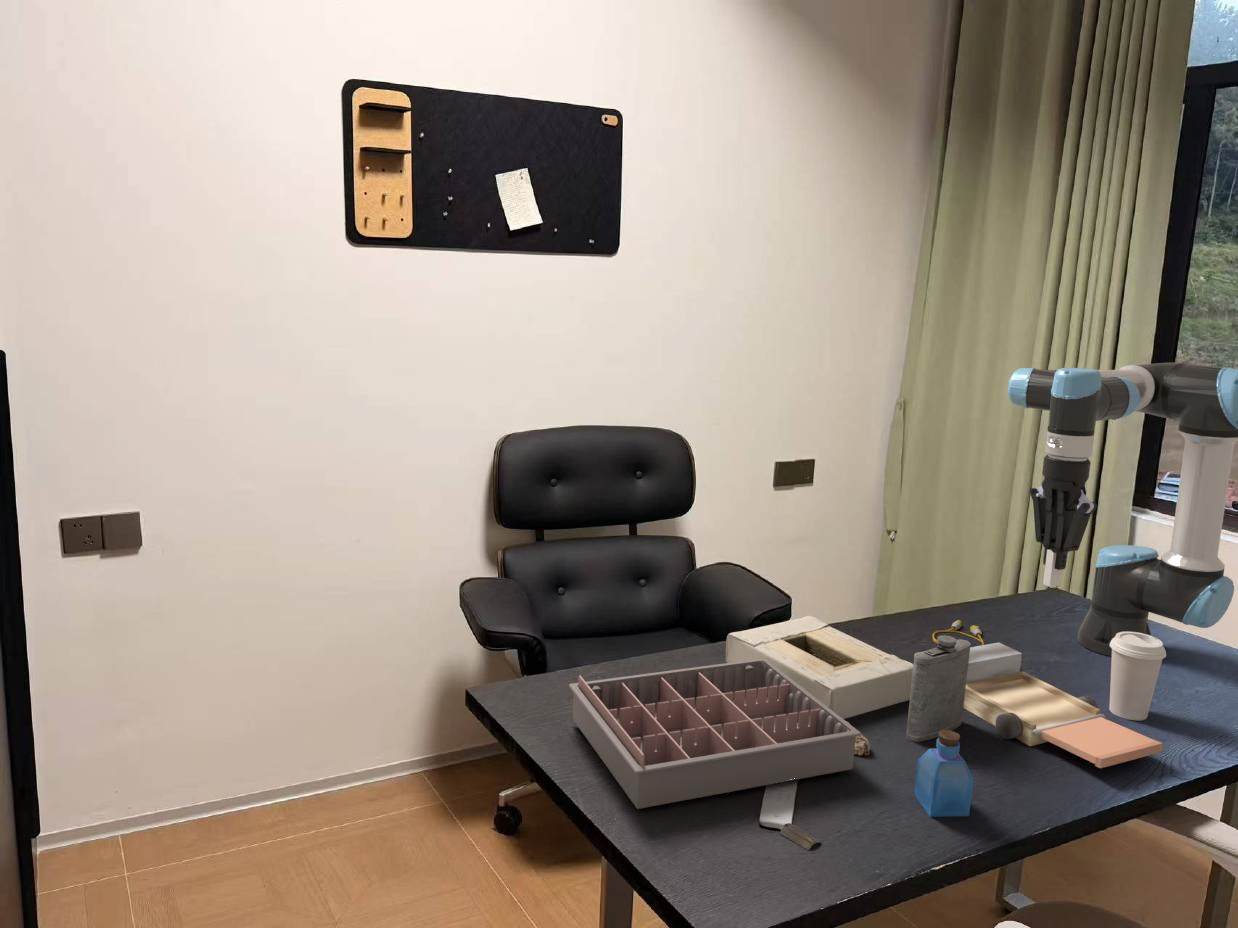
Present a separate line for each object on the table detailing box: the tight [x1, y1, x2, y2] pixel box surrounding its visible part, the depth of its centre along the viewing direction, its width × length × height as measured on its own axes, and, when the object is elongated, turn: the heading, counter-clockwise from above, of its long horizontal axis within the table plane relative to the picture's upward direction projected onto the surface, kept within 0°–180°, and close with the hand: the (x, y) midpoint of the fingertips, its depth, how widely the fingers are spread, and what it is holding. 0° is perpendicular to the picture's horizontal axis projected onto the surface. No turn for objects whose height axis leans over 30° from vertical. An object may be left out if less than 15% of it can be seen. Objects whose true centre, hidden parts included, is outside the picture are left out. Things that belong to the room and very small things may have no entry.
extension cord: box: [932, 619, 986, 646], centre depth 221 cm, size 12×16×2 cm
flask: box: [905, 635, 972, 743], centre depth 175 cm, size 4×14×18 cm, turn 126°
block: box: [780, 822, 822, 852], centre depth 143 cm, size 4×6×2 cm, turn 41°
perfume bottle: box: [914, 730, 974, 818], centre depth 151 cm, size 6×6×12 cm
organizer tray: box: [568, 658, 863, 810], centre depth 166 cm, size 32×40×10 cm
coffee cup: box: [1109, 632, 1167, 722], centre depth 185 cm, size 10×10×15 cm
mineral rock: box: [845, 720, 872, 756], centre depth 171 cm, size 11×4×8 cm
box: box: [725, 615, 914, 720], centre depth 197 cm, size 23×8×32 cm
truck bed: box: [963, 642, 1101, 747], centre depth 186 cm, size 24×21×8 cm
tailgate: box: [1032, 713, 1164, 769], centre depth 169 cm, size 2×17×13 cm
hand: (1051, 584), depth 176 cm, fingers closed
